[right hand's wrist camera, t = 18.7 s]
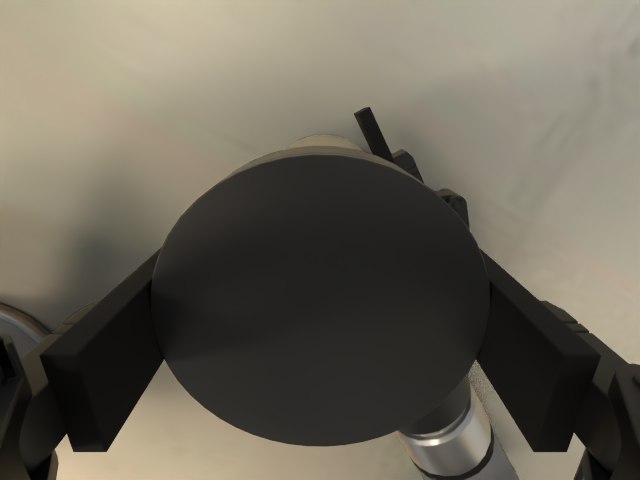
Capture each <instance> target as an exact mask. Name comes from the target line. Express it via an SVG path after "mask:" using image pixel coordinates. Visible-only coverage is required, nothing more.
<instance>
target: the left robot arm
mask: <svg viewBox="0 0 640 480" xmlns="http://www.w3.org/2000/svg"><path fill="white" fill-rule="evenodd" d="M354 115H355V117H356V119H357V122H358V124H359V126H360V128H361V130H362V132H363V134H364V136H365V138H366V141H367V143H368V145H369V147H370V149H371V151H372V153H373V155H376V156H378V157H380V158H382V159H385V160H387V161H389V162H391V163H393V164H395V165H397V166H398V167H400V168H401V169H403V170H405V171H406V172H408V173H409V174H411V175H412V176H414V177H415V178H416V179H418V180H419V181H420V182H422V183H423V184H424V182H423V180H422V178H421V175H420V173H419V171H418V168H417V166H416V164H415V162H414V159H413V157H412V156H411V155H410V154H409V153H407V152H406V151H404V150H402V149H401V150H399V151H397V152H395V153H394V154H392V155H391V153H390V150H389V148H388V146H387V144H386V142H385V139H384V137H383V135H382V133H381V131H380V129H379V126H378V124H377V122H376V120H375V118H374V115H373V113H372V111H371V109H370V107H367V108H363V109H361V110H360V111H358V112H356V113H354ZM435 193H436V194H437V195H438V196H440V197H441V198H442V199H443V200H444V201H445V202H446V203H448V204H449V205H450V206H451V207H452V208H453V210H454V211H455V212H456V213H457V214H458V216H459V217H460V218H461V219H462V220H463V222H464V223H465V224H466V226H467V227H468V229H469V221H468V212H467V203H466V200H465V199H464V198H463V197H461V196H459V195H458V194H456V193H454V192H453V191H451V190H449V189H441V190H439V191H436V192H435ZM469 231H470V230H469ZM0 333H6V334H7V335H9V336H11V337H12V339H13V342H14V345H15V347H16V350H17V352H18V355H19V358H21V357H23V356H24V355H25V354H26V353H27V352H29V351H30V350H31V349H32V348H33V347H35V346H36V345H37V344H38V343H39V342H41V341H42V340H43V339H44V338H45V337H47V336H48V335H51V334H50V333H49V332H48V331H47V330H46V329H45V328H44V327H43V326H41V325H40V324H39V323H37V322H36V321H35V320H33V319H32V318H30V317H28V316H27V315H25V314H23V313H21V312H19V311H17V310H15V309H13V308H10V307H7V306H5V305H2V304H0ZM394 433H395V434H396V436H397V437H398V439H399V440H400V442H401V443H402V445H403V446H404V448H405V449H406V451H407V452H408V454H409V456H410V457H411V459H412V461H413V462H414V464H415V466H416V467H417V469H418V470H419V472H420V474H421V475H422V477H423V479H424V480H519V478H518V476H517V474H516V471H515V469H514V468H513V466H512V465H511V463H510V461H509V459H508V457H507V455H506V453H505V452H504V450H503V448H502V446H501V444H500V442H499V440H498V438H497V436H496V434H495V433H494V431H493V429H492V427H491V424H490V422H489V418H488V416H487V414H486V412H485V410H484V408H483V406H482V404H481V402H480V400H479V398H478V396H477V394H476V392H475V390H474V388H473V386H472V384H471V383H470V381H469V378H468V376H467V375H466V376H465V377H464V379H463V380H462V381H461V383H460V384H459V385H458V387H457V388H456V389H455V390H454V391H453V392H452V393H451V394H450V395H449V396H448V397H447V398H446V399H445V400H444V401H443V402H442V403H440V404H439V405H438V406H437V407H436V408H434V409H433V410H432V411H431V412H429V413H428V414H426V415H425V416H423V417H422V418H420V419H418V420H417V421H415V422H413V423H412V424H410V425H408V426H406V427H404V428H402V429H400V430H397V431H395V432H394Z"/></svg>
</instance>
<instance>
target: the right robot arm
mask: <svg viewBox="0 0 640 480" xmlns="http://www.w3.org/2000/svg"><path fill="white" fill-rule="evenodd" d="M161 249H162V248H161ZM161 249H159V250H158V251H157V252H156V253H155V254H154V255H153V256H151V257H150V258H149V259H148V260H147V261H146V262H145V263H143V264H142V265H141V266H140V267H139V268H138V269H137V270H135V271H134V272H133V273H132V274H131V275H130V276H129V277H128V278H126V279H125V280H124V281H123V282H122V283H121V284H120V285H118V286H117V287H116V288H115V289H114V290H113V291H112V292H110V293H109V294H108V295H107V296H106V297H105V298H104V299H102V300H101V301H100V302H94V303H92V304H90V305H88V306H86V307H84V308H82V309H80V310H79V311H77V312H75V313H74V314H73V315H72V316H71V317H69V318H68V319H67V320H66V321H65V322H63V325H60V326H59V327H57V328H56V329H55V330H54V331H53V332H52V334H51V335H48V336H47V337H45V338H44V339H43V340H42V341H41V342H39V343H38V344H37V345H36V346H35V347H33V348H32V349H31V350H30V351H29V352H27V353H26V354H25V355H24V356H23V357H21V358H19V355H18V352H17V350H16V347H15V345H14V342H13V339H12V337H11V336H9V335H7V334H6V333H0V480H56V476H57V470H58V457H57V454H56V451H55V448H56V447H57V445H58V444H59V443H60V441H61V440H62V439H63V438H64V436H65V435H66V434H67V435H68V438H69V441H70V443H71V446H72V449H73V452H107V450H108V449H109V447H110V446H111V444H112V442H113V441H114V439H115V437H116V436H117V434H118V433H119V431H120V429H121V428H122V426H123V425H124V423H125V421H126V420H127V418H128V417H129V415H130V413H131V412H132V410H133V408H134V407H135V405H136V404H137V402H138V400H139V399H140V397H141V396H142V394H143V392H144V391H145V389H146V388H147V386H148V384H149V383H150V381H151V380H152V378H153V376H154V375H155V373H156V371H157V370H158V368H159V367H160V365H161V363H162V362H163V360H164V357H163V355H162V353H161V351H160V348H159V345H158V342H157V339H156V335H155V331H154V326H153V321H152V316H151V300H150V293H151V285H152V278H153V272H154V269H155V265H156V262H157V259H158V255H159V253H160V251H161ZM479 250H480V252H481V254H482V257H483V259H484V262H485V266H486V271H487V275H488V279H489V289H490V311H489V317H488V322H487V327H486V332H485V336H484V341H483V344H482V346H481V349H480V351H479V354H478V356H477V358H476V360H477V361H478V363H479V365H480V366H481V368H482V370H483V371H484V373H485V374H486V376H487V378H488V379H489V381H490V382H491V384H492V386H493V387H494V389H495V390H496V392H497V394H498V395H499V397H500V398H501V400H502V402H503V403H504V405H505V407H506V408H507V410H508V411H509V413H510V415H511V416H512V418H513V419H514V421H515V423H516V424H517V426H518V427H519V429H520V431H521V432H522V434H523V435H524V437H525V439H526V440H527V442H528V444H529V445H530V447H531V448H532V450H533V452H567V450H568V447H569V444H570V441H571V439H572V436H573V433H575V434H576V435H577V437H578V438H579V439H580V440H581V442H582V443H583V444H584V446H585V447H586V449H585V451H584V454H583V456H582V459H581V462H580V464H579V467H578V469H577V472H576V475H575V477H574V480H640V365H637V364H628V363H627V362H626V361H625V360H624V359H622V358H621V357H620V356H619V355H617V354H616V353H615V352H614V351H613V350H611V349H610V348H609V347H608V346H607V345H605V344H604V343H603V342H602V341H601V340H599V339H598V338H597V337H596V336H595V335H593V334H592V333H589V331H588V330H587V329H586V328H585V327H584V326H582V325H581V324H578V321H576V320H575V319H574V318H573V317H572V316H570V315H569V314H568V313H567V312H566V311H564V310H562V309H561V308H559V307H557V306H555V305H553V304H551V303H549V302H547V301H539V300H538V299H537V298H535V297H534V296H533V295H532V294H531V293H530V292H529V291H528V290H526V289H525V288H524V287H523V286H522V285H521V284H520V283H518V282H517V281H516V280H515V279H514V278H513V277H512V276H510V275H509V274H508V273H507V272H506V271H505V270H504V269H502V268H501V267H500V266H499V265H498V264H497V263H496V262H495V261H493V260H492V259H491V258H490V257H489V256H488V255H487V254H485V253H484V252H483V251H482V250H481V249H480V248H479Z"/></svg>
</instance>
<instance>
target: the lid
mask: <svg viewBox="0 0 640 480" xmlns="http://www.w3.org/2000/svg"><path fill="white" fill-rule="evenodd" d="M150 300H151V316H152V321H153V326H154V331H155V335H156V339H157V342H158V345H159V348H160V351H161V353H162V355H163V357H164V359H165V361H166V363H167V365H168V367H169V368H170V369H171V371H172V372H173V374H174V375H175V377H176V378H177V380H178V381H179V382H180V384H181V385H182V386H183V387H184V388H185V389H186V390H187V392H188V393H189V394H190V395H191V396H192V397H193V398H194V399H196V400H197V401H198V402H199V403H200V404H201V405H202V406H203V407H204V408H206V409H207V410H209V411H210V412H212V413H213V414H214V415H216V416H217V417H219V418H220V419H222V420H224V421H225V422H227V423H229V424H231V425H233V426H234V427H236V428H239V429H241V430H243V431H246V432H248V433H250V434H253V435H256V436H259V437H262V438H265V439H269V440H272V441H277V442H282V443H287V444H294V445H303V446H337V445H347V444H353V443H359V442H364V441H368V440H371V439H375V438H379V437H382V436H384V435H387V434H390V433H392V432H395V431H397V430H400V429H402V428H404V427H406V426H408V425H410V424H412V423H413V422H415V421H417V420H418V419H420V418H422V417H423V416H425V415H426V414H428V413H429V412H431V411H432V410H433V409H434V408H436V407H437V406H438V405H439V404H440V403H442V402H443V401H444V400H445V399H446V398H447V397H448V396H449V395H450V394H451V393H452V392H453V391H454V390H455V389H456V388H457V387H458V385H459V384H460V383H461V381H462V380H463V379H464V377H465V376H466V375H467V373H468V372H469V370H470V369H471V367H472V365H473V363H474V362H475V360H476V358H477V356H478V354H479V351H480V349H481V346H482V344H483V341H484V336H485V332H486V327H487V322H488V317H489V311H490V289H489V279H488V275H487V271H486V266H485V262H484V259H483V257H482V254H481V252H480V250H479V247H478V245H477V242H476V241H475V239H474V237H473V236H472V234H471V232H470V231H469V229H468V227H467V226H466V224H465V223H464V222H463V220H462V219H461V218H460V217H459V216H458V214H457V213H456V212H455V211H454V210H453V208H452V207H451V206H450V205H449V204H448V203H446V202H445V201H444V200H443V199H442V198H441V197H440V196H438V195H437V194H436V193H435V192H434V191H433V190H431V189H430V188H429V187H427V186H426V185H425V184H423V183H422V182H420V181H419V180H418V179H416V178H415V177H414V176H412V175H411V174H409V173H408V172H406V171H405V170H403V169H401V168H400V167H398V166H397V165H395V164H393V163H391V162H389V161H387V160H385V159H382V158H380V157H378V156H376V155H373V154H369V153H366V152H363V151H360V150H356V149H350V148H344V147H338V146H305V147H295V148H290V149H286V150H282V151H278V152H274V153H270V154H268V155H266V156H263V157H261V158H258V159H256V160H253V161H251V162H249V163H248V164H246V165H244V166H242V167H241V168H239V169H237V170H236V171H234V172H233V173H231V174H230V175H229V176H227V177H226V178H225V179H223V180H222V181H220V182H219V183H218V184H216V185H215V186H214V187H213V188H211V189H210V190H209V191H207V192H206V193H205V194H204V195H202V196H201V197H200V198H198V199H197V200H196V201H195V202H194V203H193V204H192V205H191V206H190V207H189V209H188V210H187V211H186V212H185V213H184V214H183V215H182V216H181V217H180V218H179V220H178V221H177V223H176V224H175V226H174V227H173V229H172V230H171V232H170V233H169V234H168V236H167V238H166V240H165V242H164V245H163V247H162V249H161V251H160V253H159V255H158V259H157V262H156V265H155V269H154V272H153V278H152V285H151V293H150Z"/></svg>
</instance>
